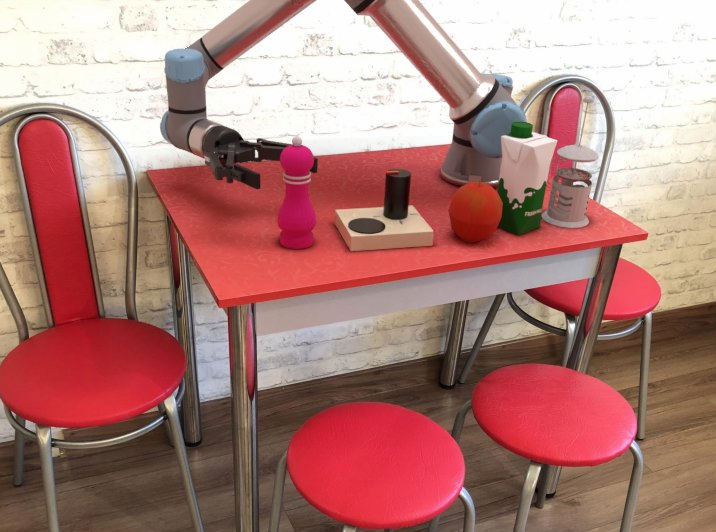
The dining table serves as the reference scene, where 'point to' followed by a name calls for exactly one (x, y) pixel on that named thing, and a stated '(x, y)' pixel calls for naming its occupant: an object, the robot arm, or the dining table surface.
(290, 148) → the pepper mill
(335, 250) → the dining table surface
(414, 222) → the hob
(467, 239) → the apple
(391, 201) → the hob knob
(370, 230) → the burner
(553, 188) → the french press
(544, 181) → the milk carton
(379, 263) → the dining table surface
